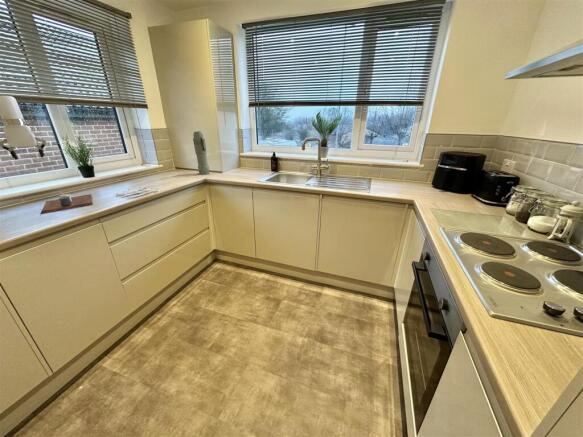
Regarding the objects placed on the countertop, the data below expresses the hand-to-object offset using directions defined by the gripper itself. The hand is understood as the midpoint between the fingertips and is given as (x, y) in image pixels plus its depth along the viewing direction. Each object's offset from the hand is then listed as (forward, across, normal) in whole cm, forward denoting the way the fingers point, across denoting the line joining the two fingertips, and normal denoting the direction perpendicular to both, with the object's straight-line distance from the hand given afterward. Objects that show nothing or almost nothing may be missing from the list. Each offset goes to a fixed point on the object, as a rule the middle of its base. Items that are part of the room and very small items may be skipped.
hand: (29, 158), depth 126 cm
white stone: (+25, -8, +5) cm, 26 cm away
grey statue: (+26, -98, -24) cm, 104 cm away
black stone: (+25, -8, +12) cm, 29 cm away
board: (+26, -8, +5) cm, 28 cm away
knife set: (+26, -48, +3) cm, 55 cm away
